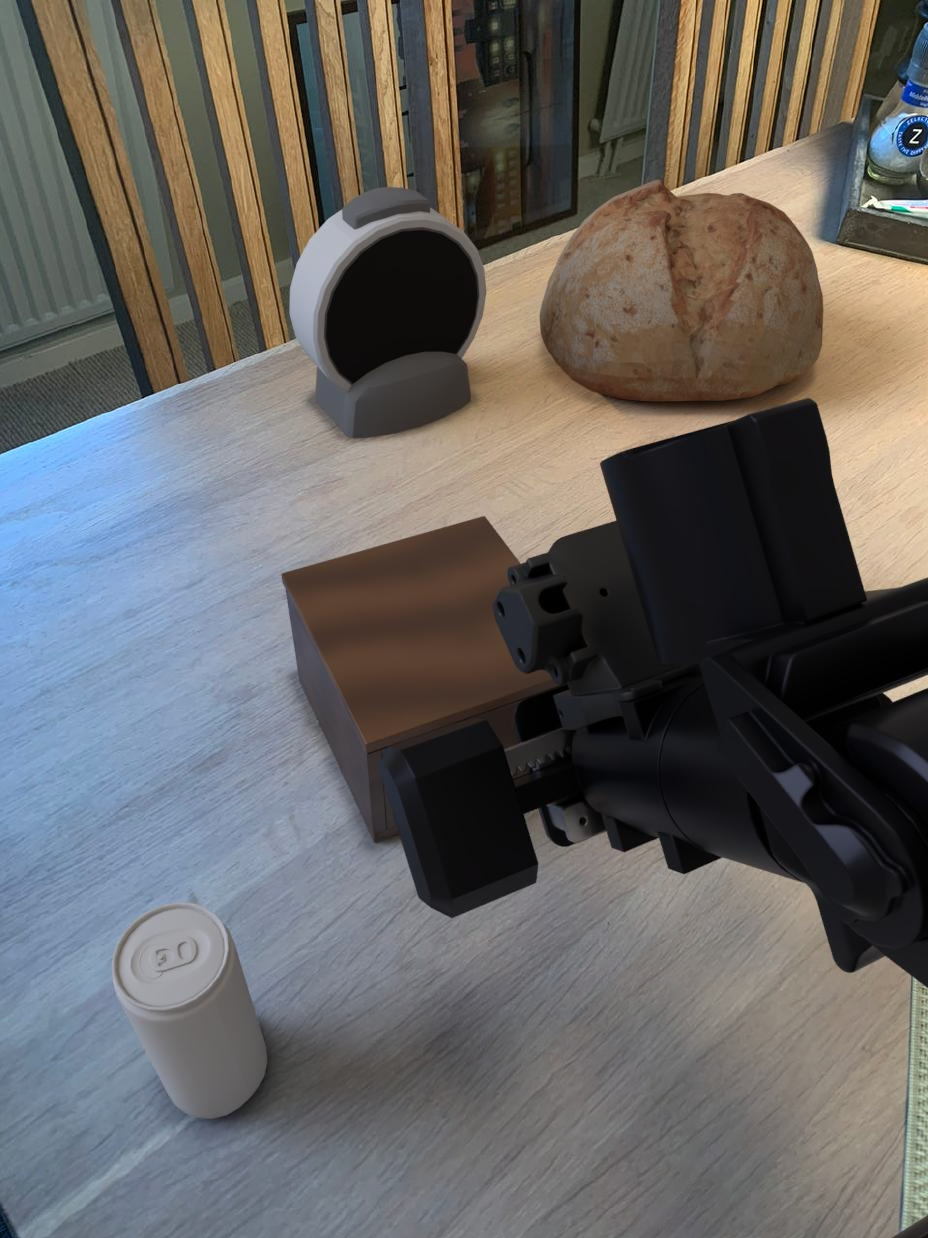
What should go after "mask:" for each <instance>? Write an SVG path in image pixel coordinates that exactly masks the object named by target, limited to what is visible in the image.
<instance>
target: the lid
mask: <svg viewBox="0 0 928 1238" xmlns="http://www.w3.org/2000/svg"><path fill="white" fill-rule="evenodd" d="M518 564H521V562H520V560H519V559H518V558H517V556H516V555H515V554H514V553H513V551H512V550H511V549H510V548H509V546H508V545H507V543H506V542H505V541H504V539H503V538H502V537H501V535H500V534H499V533H498V531H497V530H496V529H495V528H494V526H493V525H492V524H491V522H490V521H489V520H488V518H487V517H486V515H482V516H479V517H474V518H471V519H469V520H464V521H462V522H461V521H460V522H458V523H454V524H450V525H447V526H443V527H440V528H436V529H433V530H430V531H425V532H423V533H419V534H415V535H412V536H408V537H404V538H401V539H398V540H395V541H389V542H387V543H384V544H380V545H377V546H373V547H370V548H365V549H361V550H358V551H355V552H351V553H348V554H345V555H341V556H337V557H334V558H331V559H327V560H323V561H320V562H316V563H314V564H309V565H305V566H302V567H299V568H296V569H291V570H288V571H284V572H282V573H281V575H280V576H281V581H282V585H283V587H284V588H285V592H286V591H287V593H288V595H289V597H290V599H291V601H292V603H293V605H294V607H295V609H296V611H297V613H298V615H299V617H300V619H301V621H302V623H303V625H304V627H305V629H306V631H307V633H308V635H309V637H310V639H311V641H312V643H313V645H314V647H315V649H316V652H317V654H318V656H319V658H320V660H321V662H322V664H323V666H324V668H325V670H326V672H327V674H328V676H329V678H330V680H331V682H332V684H333V686H334V688H335V690H336V692H337V694H338V696H339V698H340V700H341V702H342V704H343V706H344V708H345V710H346V712H347V714H348V716H349V718H350V720H351V722H352V724H353V727H354V729H355V731H356V733H357V735H358V737H359V739H360V741H361V743H362V745H363V747H364V749H365V751H366V752H367V753H370V752H373V751H375V750H378V749H381V748H384V747H387V746H390V745H392V744H395V743H398V742H401V741H404V740H407V739H409V738H412V737H415V736H418V735H421V734H424V733H426V732H429V731H432V730H435V729H438V728H441V727H443V726H446V725H449V724H452V723H455V722H458V721H461V720H463V719H466V718H469V717H472V716H475V715H478V714H480V713H483V712H486V711H489V710H492V709H495V708H497V707H500V706H503V705H506V704H509V703H512V702H514V701H517V700H520V699H523V698H526V697H529V696H532V695H534V694H537V693H540V692H543V691H546V690H549V689H551V688H554V687H557V686H560V685H557V684H556V683H555V682H554V681H553V679H552V677H551V675H550V673H549V672H547V671H545V670H538V671H535V672H532V673H529V674H525V673H523V672H521V671H520V670H519V669H518V668H517V667H516V666H515V664H514V661H513V659H512V657H511V654H510V652H509V650H508V648H507V645H506V643H505V641H504V639H503V636H502V634H501V632H500V629H499V627H498V625H497V623H496V620H495V617H494V611H493V603H494V601H495V599H496V597H497V595H498V593H499V591H500V590H501V589H502V588H504V587H507V586H510V583H509V580H508V574H507V572H508V568H509V567H512V566H515V565H518ZM565 684H566V683H565ZM562 685H563V684H562Z"/></svg>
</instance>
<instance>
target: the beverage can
mask: <svg viewBox="0 0 928 1238" xmlns="http://www.w3.org/2000/svg"><path fill="white" fill-rule="evenodd" d="M111 961H112V962H111V974H112V984H113V987H114V990H115V994H116V998H117V999H118V1001H119V1003H120V1005H121V1007H122V1009H123V1011H124V1012H125V1014H126V1017H127V1018H128V1020H129V1022H130V1024H131V1026H132V1028H133V1030H134V1033H135V1034H136V1036H137V1038H138V1039H139V1041H140V1043H141V1045H142V1047H143V1049H144V1051H145V1053H146V1055H147V1057H148V1059H149V1061H150V1063H151V1064H152V1067H153V1068H154V1071H155V1072H156V1074H157V1076H158V1078H159V1080H160V1081H161V1084H162V1086H163V1088H164V1089H165V1091H166V1093H167V1095H168V1097H169V1098H170V1100H171V1101H172V1102H173V1104H174V1105H175V1107H177V1109H178V1110H180V1111H182V1112H183V1113H184V1114H185V1115H188V1116H191V1117H193V1118H197V1119H207V1120H213V1119H218V1118H222V1117H225V1116H227V1115H228V1116H229V1114H231V1113H233V1112H235V1111H236V1110H238V1109H240V1108H241V1107H242V1106H243V1105H244V1104H245V1103H246V1102H248V1100H250V1099H251V1097H252V1096H253V1095H254V1094H255V1092H256V1091H257V1089H259V1087H260V1086H261V1083H262V1081H263V1079H264V1077H265V1075H266V1072H267V1065H268V1053H267V1052H268V1051H267V1046H266V1043H265V1038H264V1036H263V1032H262V1030H261V1026H260V1022H259V1019H258V1016H257V1013H256V1010H255V1006H254V1003H253V1000H252V997H251V993H250V990H249V987H248V982H247V980H246V977H245V974H244V971H243V967H242V964H241V960H240V957H239V954H238V951H237V947H236V944H235V941H234V939H233V936H232V934H231V932H230V930H229V928H228V927H227V926H226V925H225V924H224V922H223V921H222V919H220V918H219V916H218V915H217V914H216V913H215V912H214V911H212V910H211V909H209V908H208V907H206V906H204V905H200V904H198V903H195V902H194V903H193V902H185V901H175V902H171V903H165V904H161V905H159V906H157V907H154V908H152V909H149V910H148V911H146V912H144V913H143V914H141V915H140V916H138V918H136V919H134V920H133V922H132V923H130V925H128V927H127V928H126V929H125V930H124V931H123V932H122V935H121V936H120V938H119V940H118V942H117V943H116V946H115V948H114V951H113V955H112V959H111Z"/></svg>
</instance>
